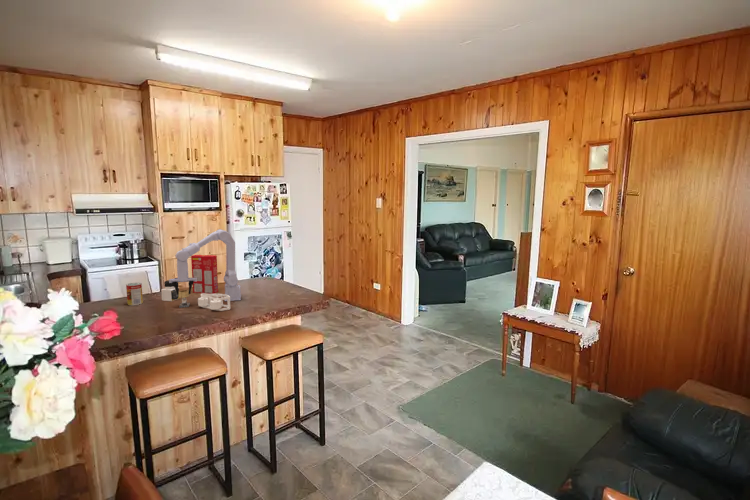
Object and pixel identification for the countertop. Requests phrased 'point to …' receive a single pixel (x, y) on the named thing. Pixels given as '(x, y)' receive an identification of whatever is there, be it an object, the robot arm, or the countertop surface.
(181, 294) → the wooden ring
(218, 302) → the car outline toy
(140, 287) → the canned food
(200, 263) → the food packaging
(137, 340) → the countertop surface
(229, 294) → the robot arm
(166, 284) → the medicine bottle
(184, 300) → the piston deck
